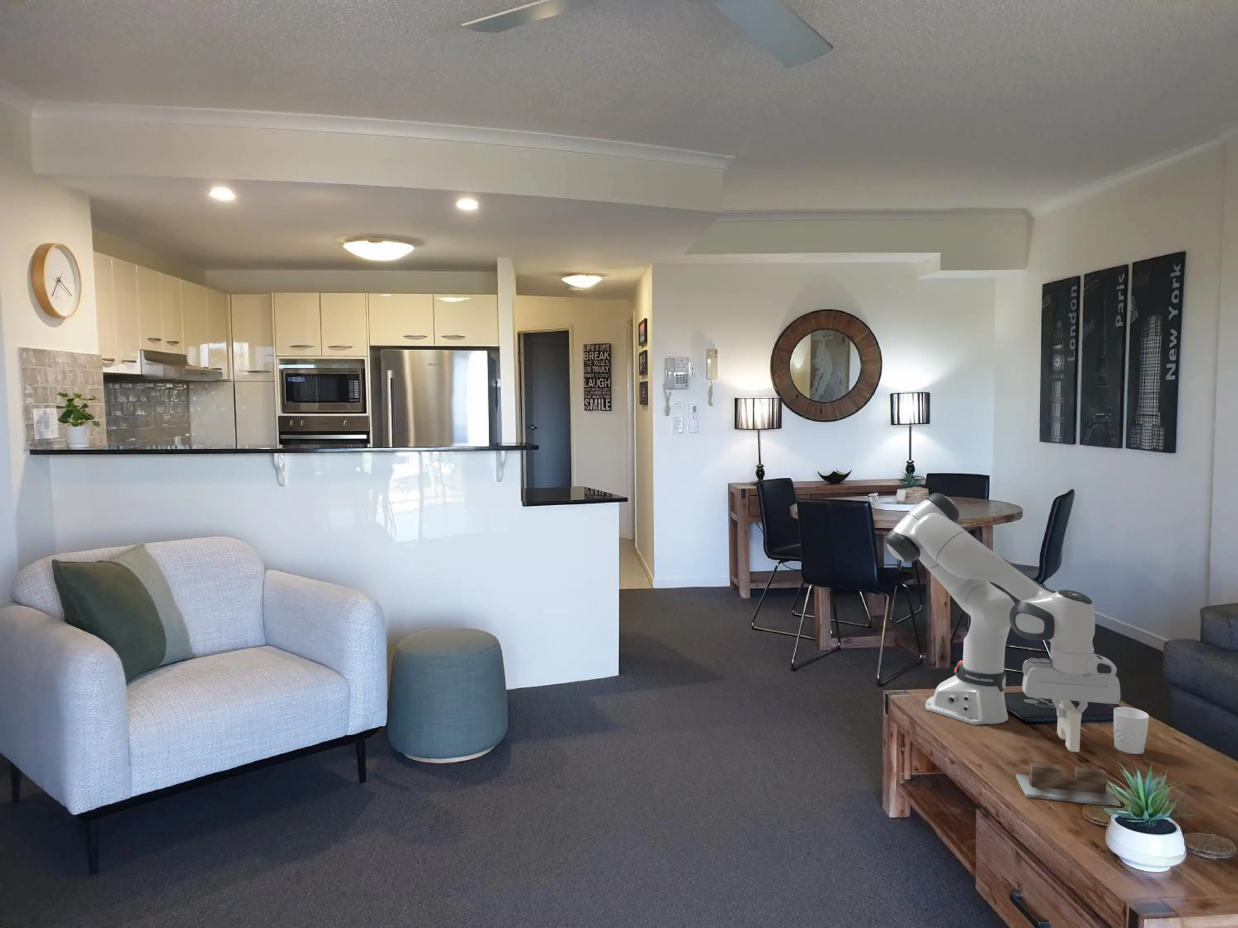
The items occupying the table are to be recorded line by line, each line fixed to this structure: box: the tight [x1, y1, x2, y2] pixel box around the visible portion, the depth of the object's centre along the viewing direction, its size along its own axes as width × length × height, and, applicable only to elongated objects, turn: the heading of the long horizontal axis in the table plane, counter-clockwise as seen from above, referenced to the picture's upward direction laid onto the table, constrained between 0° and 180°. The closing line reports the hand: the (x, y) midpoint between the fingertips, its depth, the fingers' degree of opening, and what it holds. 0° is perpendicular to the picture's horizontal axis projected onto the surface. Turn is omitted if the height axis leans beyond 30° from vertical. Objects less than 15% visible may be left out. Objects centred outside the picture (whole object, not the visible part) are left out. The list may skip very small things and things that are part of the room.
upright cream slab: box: [1056, 700, 1082, 753], centre depth 188 cm, size 10×2×9 cm, turn 166°
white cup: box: [1113, 706, 1150, 755], centre depth 212 cm, size 8×8×10 cm
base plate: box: [1015, 762, 1121, 806], centre depth 190 cm, size 20×10×6 cm, turn 77°
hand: (1068, 717), depth 188 cm, fingers closed on upright cream slab, 2 cm apart
